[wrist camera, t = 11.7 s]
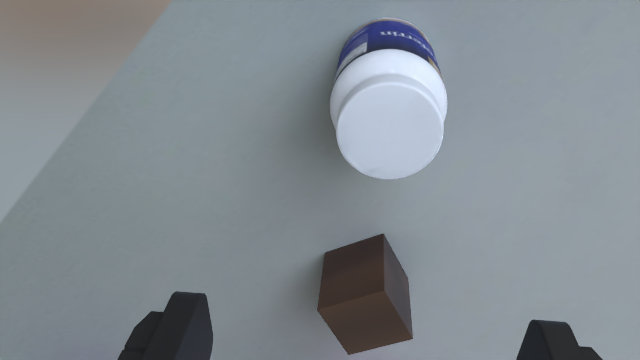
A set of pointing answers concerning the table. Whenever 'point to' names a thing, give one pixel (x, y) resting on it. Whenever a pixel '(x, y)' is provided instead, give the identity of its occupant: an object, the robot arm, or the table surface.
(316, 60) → the table surface
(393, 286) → the walnut block
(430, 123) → the pill bottle
